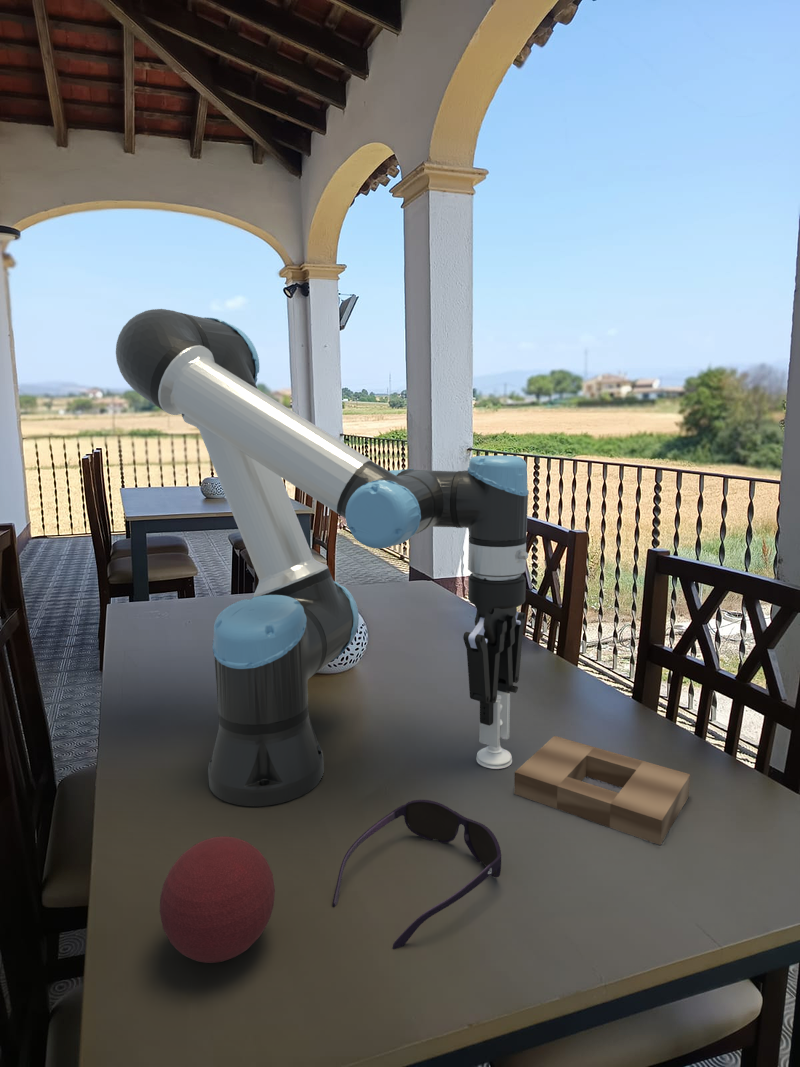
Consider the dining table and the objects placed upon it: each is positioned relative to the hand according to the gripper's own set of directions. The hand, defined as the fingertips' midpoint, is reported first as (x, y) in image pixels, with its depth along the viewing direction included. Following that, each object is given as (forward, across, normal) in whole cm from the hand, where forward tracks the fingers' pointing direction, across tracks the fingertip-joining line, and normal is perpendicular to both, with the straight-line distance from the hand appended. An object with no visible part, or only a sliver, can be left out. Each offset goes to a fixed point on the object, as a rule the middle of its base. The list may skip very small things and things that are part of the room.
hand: (494, 739), depth 94 cm
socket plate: (+3, 0, -15) cm, 16 cm away
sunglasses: (+4, -27, -6) cm, 28 cm away
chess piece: (+3, 0, 0) cm, 3 cm away
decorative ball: (+3, -44, +4) cm, 44 cm away
